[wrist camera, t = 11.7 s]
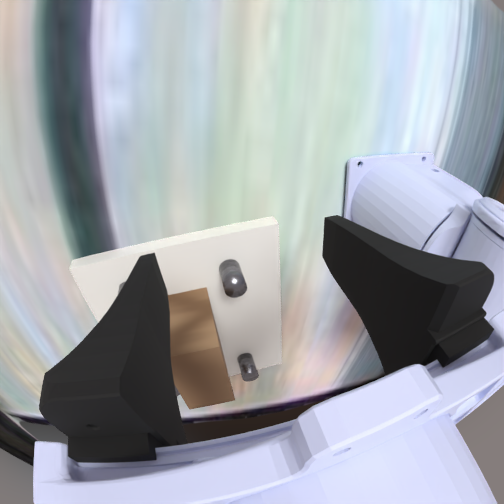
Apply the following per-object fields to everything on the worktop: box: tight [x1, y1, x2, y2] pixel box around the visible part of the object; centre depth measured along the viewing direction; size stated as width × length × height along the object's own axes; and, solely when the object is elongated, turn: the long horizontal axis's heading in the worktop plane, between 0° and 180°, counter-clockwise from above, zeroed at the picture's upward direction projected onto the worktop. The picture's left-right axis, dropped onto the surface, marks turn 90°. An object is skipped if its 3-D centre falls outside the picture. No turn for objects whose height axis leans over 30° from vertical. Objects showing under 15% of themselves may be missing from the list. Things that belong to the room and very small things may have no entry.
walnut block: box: [168, 287, 235, 409], centre depth 23 cm, size 4×8×6 cm, turn 5°
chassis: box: [69, 216, 282, 396], centre depth 25 cm, size 16×18×4 cm
